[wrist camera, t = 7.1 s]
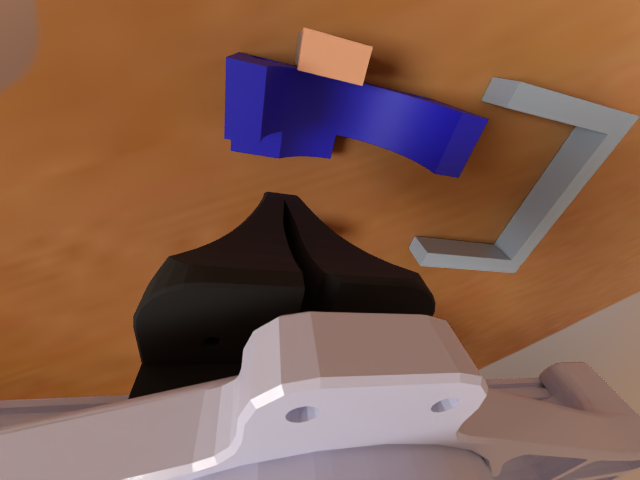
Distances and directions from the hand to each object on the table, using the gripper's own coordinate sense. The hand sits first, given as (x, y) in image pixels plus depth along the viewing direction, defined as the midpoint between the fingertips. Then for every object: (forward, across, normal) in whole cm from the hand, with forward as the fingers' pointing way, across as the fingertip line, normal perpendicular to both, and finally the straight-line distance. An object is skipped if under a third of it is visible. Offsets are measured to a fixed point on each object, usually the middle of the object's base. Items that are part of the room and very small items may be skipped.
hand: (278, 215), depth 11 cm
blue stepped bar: (+9, -4, -3) cm, 10 cm away
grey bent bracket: (+8, -18, 0) cm, 20 cm away
